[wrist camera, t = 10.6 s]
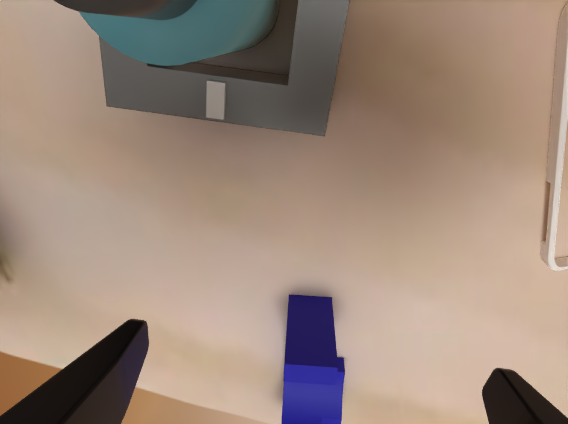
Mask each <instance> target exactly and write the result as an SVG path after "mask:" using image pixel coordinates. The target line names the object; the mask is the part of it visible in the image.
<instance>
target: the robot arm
mask: <svg viewBox="0 0 568 424" xmlns="http://www.w3.org/2000/svg"><path fill="white" fill-rule="evenodd" d="M148 347H149V338H148V326H147V322H146V321H144V320H138V319H130V320H128V321H126V322H125V323H123V324H122V325H121V326H119V327H118V328H117V329H116V330H114V331H113V332H112V333H110V334H109V335H108V336H106V337H105V338H104V339H102V340H101V341H100V342H98V343H97V344H96V345H94V346H93V347H92V348H90V349H89V350H88V351H86V352H85V353H84V354H82V355H81V356H80V357H78V358H77V359H76V360H74V361H73V362H72V363H70V364H69V365H68V366H66V367H65V368H64V369H62V370H61V371H60V372H58V373H57V374H56V375H54V376H53V377H52V378H50V379H49V380H48V381H46V382H45V383H44V384H42V385H41V386H40V387H38V388H37V389H36V390H34V391H33V392H32V393H30V394H29V395H28V396H26V397H25V398H24V399H22V400H21V401H20V402H18V403H17V404H16V405H14V406H13V407H12V408H11V409H9V410H8V411H6V412H5V413H4V414H2V415H1V416H0V424H121V422H122V420H123V418H124V416H125V413H126V410H127V408H128V405H129V403H130V399H131V397H132V394H133V391H134V389H135V386H136V383H137V380H138V377H139V374H140V371H141V369H142V366H143V363H144V360H145V357H146V354H147V351H148ZM482 396H483V401H484V405H485V409H486V413H487V417H488V421H489V424H568V418H567V417H566V416H565V415H564V414H562V413H561V412H560V411H559V410H558V409H557V408H556V407H555V406H553V405H552V404H551V403H550V402H549V401H548V400H547V399H546V398H544V397H543V396H542V395H541V394H540V393H539V392H538V391H537V390H535V389H534V388H533V387H532V386H531V385H530V384H529V383H528V382H526V381H525V380H524V379H523V378H522V377H521V376H520V375H519V374H517V373H516V372H515V371H513V370H510V369H503V368H496V369H494V370H493V372H492V373H491V375H490V377H489V378H488V380H487V382H486V383H485V385H484V387H483V390H482Z"/></svg>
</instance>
